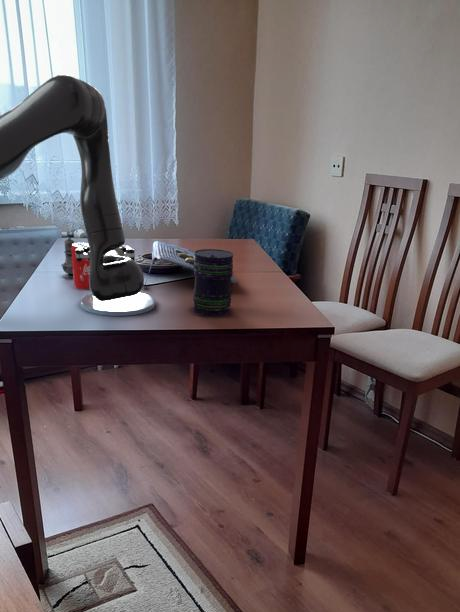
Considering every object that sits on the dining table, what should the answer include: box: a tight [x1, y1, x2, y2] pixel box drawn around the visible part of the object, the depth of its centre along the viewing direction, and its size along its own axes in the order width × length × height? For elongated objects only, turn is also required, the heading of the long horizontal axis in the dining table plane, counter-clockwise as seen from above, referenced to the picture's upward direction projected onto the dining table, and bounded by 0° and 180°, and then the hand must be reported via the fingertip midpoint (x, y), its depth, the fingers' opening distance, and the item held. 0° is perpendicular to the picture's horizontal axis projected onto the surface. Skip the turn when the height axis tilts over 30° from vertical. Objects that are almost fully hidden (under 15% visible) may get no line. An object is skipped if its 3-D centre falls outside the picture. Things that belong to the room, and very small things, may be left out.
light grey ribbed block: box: [142, 240, 238, 289], centre depth 178 cm, size 45×27×12 cm, turn 9°
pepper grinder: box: [61, 236, 75, 280], centre depth 166 cm, size 6×6×12 cm
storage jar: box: [192, 248, 234, 318], centre depth 141 cm, size 10×10×15 cm
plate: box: [80, 292, 156, 317], centre depth 145 cm, size 19×19×1 cm
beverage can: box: [71, 242, 90, 291], centre depth 156 cm, size 5×5×12 cm
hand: (102, 247), depth 137 cm, fingers closed on sponge, 5 cm apart
